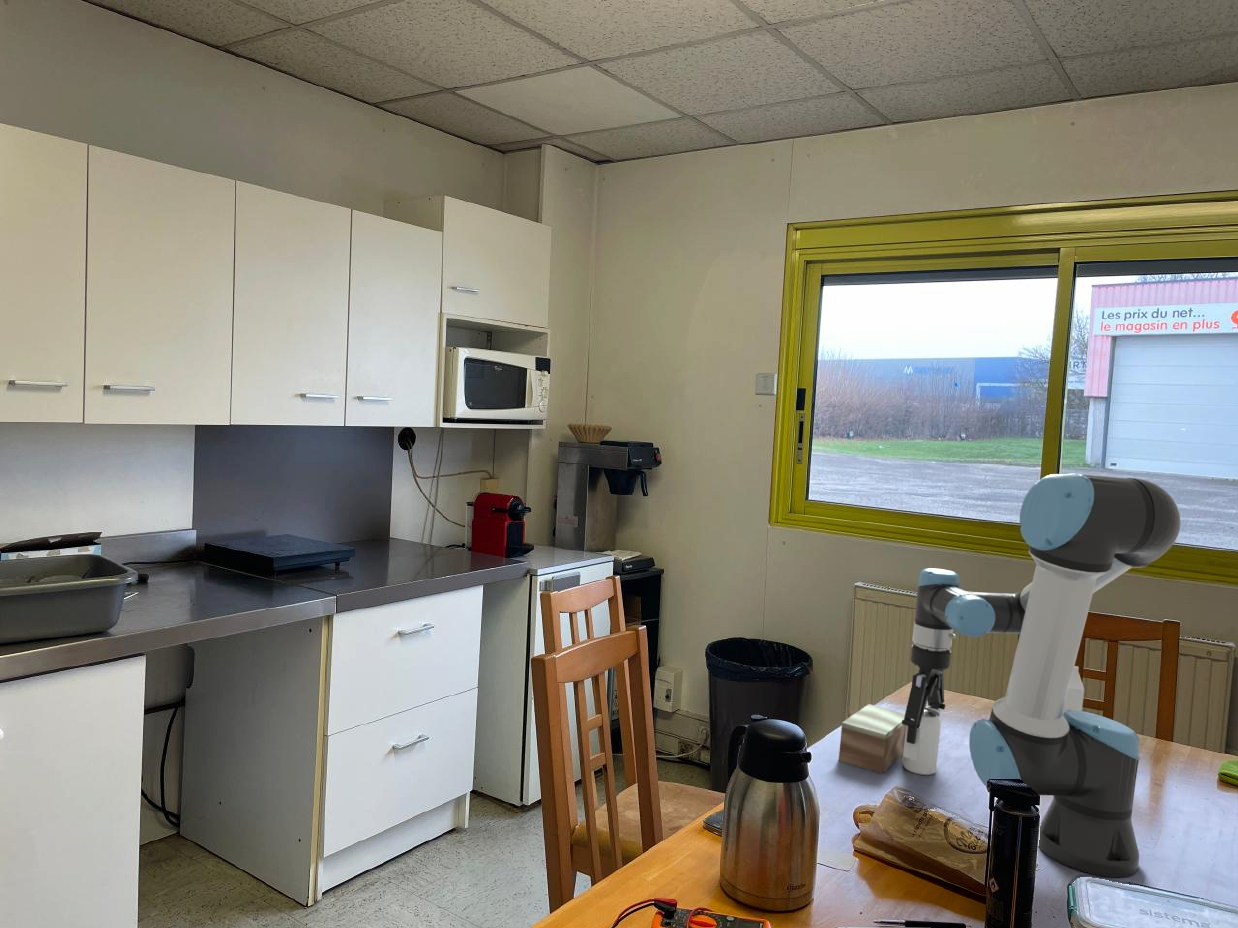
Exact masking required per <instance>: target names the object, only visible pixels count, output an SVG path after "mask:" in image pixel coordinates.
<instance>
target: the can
mask: <svg viewBox="0 0 1238 928" xmlns="http://www.w3.org/2000/svg"><path fill="white" fill-rule="evenodd" d="M939 715H940V716H941V713H940V714H939V713H938V712H937V711H935V710H932V709H929V708H926V707H925V710H924V713H923V717H922V720H921V723H920V727H921V735H920V744H919V754H918V760H914V759H910V758H907V757H903V756H902V766H903V767H904V769H905V770H906V771H907V772H910V773H911V774H915V775H919V776H931V775H933V774H935V773H936V772H937V765H938V756H939V748H940V747H939V744H940V736H941V726H942V725H941V724H942V721H941V717H940V718H939ZM911 720H914V719H911Z"/></svg>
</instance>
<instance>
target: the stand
mask: <svg viewBox="0 0 1238 928" xmlns="http://www.w3.org/2000/svg"><path fill="white" fill-rule="evenodd" d="M905 713H906V712H905ZM905 713H904V712H900V711H897V710H893V709H889V708H885V707H881V706H877V705H874V704H870V703H868V704H866V706H864V707H862V708H861V709H860V710H858V711H857V712H856V713H853V714H852V715H851V716H849V717H848V718H846V719H844V721H842V722H841V731H840V742H839V743H840V744H839V753H838V761H839V762H842V763H845V764H848V765H852V766H855V767H859V768H862V769H865V770H868V771H872V772H876V773H878V774H884V772H886V770H888V769H889V768H890V767H891V766H892V765H893V764H895V762H897V761H898V760H899V759H900V758H901V757H903V752H904V742H905V733H906V725H904V724H902V720H904V717H905Z"/></svg>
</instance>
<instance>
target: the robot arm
mask: <svg viewBox="0 0 1238 928" xmlns="http://www.w3.org/2000/svg"><path fill="white" fill-rule="evenodd" d="M1180 515H1181V514H1180V511H1179V508H1178V505H1177V504H1176V502H1175V500H1174V499H1173V497H1172V496H1171V495H1170V494H1169V493H1168V492H1167V490H1165V489H1164V488H1162V487H1161V486H1159V485H1157V484H1156V483H1154V482H1151V481H1149V480H1146V479H1142V478H1136V477H1134V478H1133V477H1126V478H1125V477H1115V476H1106V475H1105V476H1103V475H1094V474H1092V475H1090V474H1082V473H1077V472H1075V473H1074V472H1073V473H1071V472H1070V473H1064V474H1062V473H1056V474H1055V473H1054V474H1053V473H1052V474H1049V475H1046V476H1044V477H1042V478H1041V479H1040V480H1038V481H1036V482H1035V483H1034V484H1033V485H1032V486H1031V487H1030V488H1029V490H1028V491H1027V493H1026V494H1025V497H1024V499H1023V501H1022V504H1021V507H1020V511H1019V524H1021V527H1020V533H1021V534H1020V535H1021V536H1022V538H1023V540H1024V541H1025V543H1026V544H1027V545H1028V546H1029V549H1028V554H1029V555H1030V556H1031V557H1032V559H1033V560H1034V561H1035V564H1036V565H1035V569H1034V573H1033V576H1032V577H1033V578H1032V582H1030V583H1029V584H1027V585H1026V586H1025V587H1023V588H1021V589H1020V591H1018V592H1015V593H1006V592H1005V593H1003V592H981V591H980V592H979V591H967V590H964V589H961V588H960V587H961V586H960V576H959V574H958V573H957V572H955V571H952V570H950V569H949V570H947V569H943V568H937V567H935V568H932V567H929V568H924V569H922V570H921V572H920V573H919V579H918V584H917V590H916V591H917V592H916V593H917V594H916V604H915V605H916V606H915V614H914V623H913V630H912V631H913V632H912V642H913V644H912V645H911V650H910V651H911V652H910V662H911V663H912V664H914V665H915V666H917V667H918V668H919V669H918V673H916V674H913V676H912V683H911V688H910V692H909V696H908V701H907V705H906V709H905V717H904V720H902V724H904V725H906V733H905V742H904V752H903V755H902V758H903V757H907V758H910V759H914V760H918V754H919V744H920V735H921V727H920V723H921V720H922V717H923V713H924V710H925V708H929V709H932V710H935V711H937V712H938V713H939V714H940V715H939V718H940V719H941V717H940V716H941V710H943V711H945V709H946V704H945V682H944V680H945V679H944V670H948V669H949V668H950V665H951V658H952V656H951V655H952V651H951V649H950V648H952V646H953V645H952V643H953V640H955V639H956V637H957V635H956V634H955V633H953V632H954V631H955V632H956V633H959V634H960V635H963V636H967V637H969V638H981V637H982V636H985V635H986V634H988V633H990V634H993V633H994V634H1010V635H1011V634H1013V635H1019V638H1018V641H1017V647H1016V650H1015V653H1014V658H1013V662H1012V667H1011V671H1010V674H1009V680H1008V684H1007V688H1006V693H1005V696H1003V697H1001V698H999V699H997V700H995V701H994V702H993V704H992V707H991V711H990V716H989V719H987V718H982V719H978V720H977V721H976V722H974V723H973V724H972V725H971V728H970V732H969V740H968V742H969V745H968V746H969V752H970V757H971V758H970V759H971V760H972V761H971V762H972V765H973V767H974V770H975V772H976V775H977V776H978V778H979V780H980V782H982V784H983V785H984V786H985V787H986V788H987V781H988V780H989V779H997V778H1005V779H1020V780H1022V781H1023V782H1024V783H1025V784H1026V785H1028V786H1029V787H1031V788H1032V790H1034V791H1035V792H1036V793H1037V794H1038V795H1037V796H1053V799H1052V801H1051V803H1050V805H1049V807H1048V809H1047V810H1046V812H1045V814H1044V816H1043V818H1042V819H1041V822H1040V824H1041V826H1040V825H1039V826H1040V840H1039V846H1038V847H1039V849H1040V850H1041V851H1042V852H1043V853H1045V854H1046V855H1047V856H1048V857H1049V858H1051V859H1053V860H1055V861H1056V862H1059V863H1060V864H1063V865H1064V866H1067V867H1069V866H1070V867H1069V868H1071V867H1072V869H1074V868H1075V870H1077V869H1078V870H1077V871H1080V870H1081V871H1080V872H1083V871H1086V872H1085V873H1087V872H1088V873H1087V874H1091V873H1092V875H1096V876H1101V877H1102V876H1103V877H1108V878H1109V877H1110V878H1125V877H1129V876H1132V875H1135V874H1136V873H1137V872H1138V870H1139V862H1140V852H1139V848H1138V843H1137V839H1136V835H1135V830H1134V827H1133V822H1132V814H1133V808H1134V807H1133V806H1134V800H1135V799H1134V798H1135V797H1134V796H1135V790H1136V789H1135V788H1136V781H1137V774H1138V768H1139V767H1138V766H1139V761H1140V760H1141V758H1140V742H1141V741H1140V738H1139V736H1138V734H1137V733H1136V732H1135V731H1134V730H1133V728H1130V727H1128V726H1127V725H1124V724H1123V723H1121V722H1119V721H1116V720H1113V719H1111V718H1108V717H1105V716H1102V715H1099V714H1096V713H1091V712H1088V711H1083V710H1082V711H1078V710H1067V711H1065V712H1064V713H1063V709H1064V705H1065V701H1066V697H1067V693H1068V689H1069V685H1070V681H1071V677H1072V673H1073V670H1074V666H1076V661H1077V657H1078V653H1079V649H1080V646H1081V641H1082V638H1083V634H1084V629H1085V625H1086V623H1087V619H1088V614H1089V611H1090V607H1091V602H1092V599H1093V595H1094V594H1095V593H1096V592H1097V591H1099V590H1100V589H1102V588H1103V587H1105V586H1106V585H1108V584H1109V583H1111V582H1112V581H1114V580H1115V579H1117V578H1118V577H1120V576H1121V575H1123V574H1124V573H1126V572H1127V571H1129V570H1131V569H1132V568H1134V569H1135V568H1137V569H1138V568H1139V569H1141V568H1144V567H1147V566H1150V565H1151V564H1152V563H1153V562H1155V561H1157V560H1159V559H1160V558H1161V557H1162V556H1163V555H1165V554H1166V553H1167V552H1168V551H1169V550H1170V549H1171V548H1172V546H1173V545H1174V544H1175V542H1176V540H1177V539H1178V536H1179V533H1180V530H1181V529H1180V528H1181V516H1180ZM1062 713H1063V715H1062ZM911 719H914V720H911Z"/></svg>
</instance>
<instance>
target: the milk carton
mask: <svg viewBox="0 0 1238 928" xmlns="http://www.w3.org/2000/svg"><path fill="white" fill-rule="evenodd" d="M1082 681H1083V680H1082V679H1081V676H1080V672H1079V666H1076V665H1075V666H1074V670H1073V673H1072V677H1071V681H1070V685H1069V689H1068V693H1067V697H1066V701H1065V705H1064V709H1063V713H1064V712H1065V711H1067V710H1078V711H1083V704H1084V695H1085V687H1084V684H1083V682H1082ZM1063 713H1062V715H1063Z"/></svg>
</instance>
